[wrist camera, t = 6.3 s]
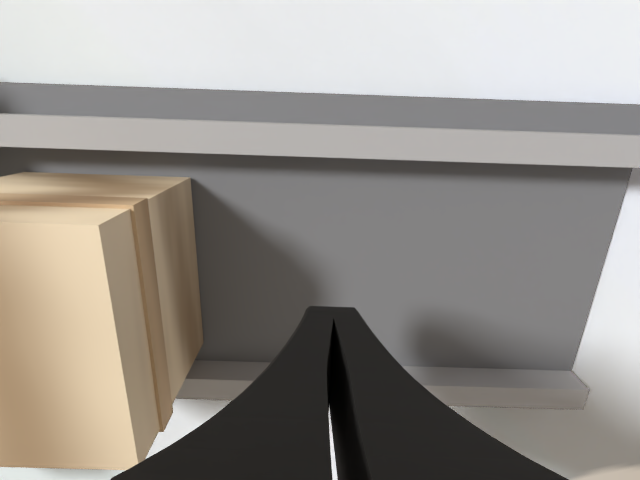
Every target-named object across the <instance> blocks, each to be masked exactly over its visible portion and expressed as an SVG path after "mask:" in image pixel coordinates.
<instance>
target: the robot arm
mask: <svg viewBox="0 0 640 480" xmlns="http://www.w3.org/2000/svg"><path fill="white" fill-rule="evenodd" d="M329 405H330V415H331V424H332V433H333V441H334V450H335V459H336V468H337V476H338V480H568V479H566V478H564V477H562V476H561V475H559V474H557V473H555V472H553V471H551V470H549V469H547V468H545V467H543V466H541V465H539V464H538V463H536V462H534V461H532V460H530V459H528V458H526V457H525V456H523V455H521V454H519V453H518V452H516V451H514V450H513V449H511V448H510V447H508V446H506V445H505V444H503V443H501V442H500V441H498V440H496V439H495V438H493V437H491V436H490V435H488V434H487V433H485V432H484V431H482V430H481V429H479V428H478V427H476V426H474V425H473V424H472V423H470V422H469V421H467V420H466V419H465V418H463V417H462V416H460V415H459V414H458V413H456V412H455V411H453V410H452V409H451V408H449V407H448V406H447V405H445V404H444V403H443V402H441V401H440V400H439V399H438V398H436V397H435V396H434V395H433V394H432V393H430V392H429V391H428V390H427V389H426V388H425V387H423V386H422V385H421V384H420V383H419V382H418V381H417V380H415V379H414V378H413V377H412V376H411V375H410V374H409V373H408V372H407V371H406V370H405V369H404V368H403V367H402V366H401V365H400V364H399V363H398V362H397V361H396V359H395V358H394V357H393V356H392V355H391V354H390V353H389V352H388V350H387V349H386V348H385V347H384V346H383V344H382V343H381V342H380V341H379V340H378V338H377V337H376V336H375V334H374V333H373V332H372V331H371V329H370V328H369V326H368V325H367V324H366V322H365V321H364V319H363V318H362V316H361V315H360V313H359V312H358V311H357V310H356V308H355V307H329V306H309V307H308V308H307V309H306V310H305V313H304V315H303V317H302V319H301V321H300V323H299V325H298V326H297V328H296V330H295V331H294V333H293V334H292V336H291V337H290V338H289V340H288V341H287V343H286V344H285V346H284V347H283V348H282V350H281V351H280V352H279V353H278V354H277V356H276V357H275V358H274V359H273V361H272V362H271V363H270V364H269V365H268V367H267V368H266V369H265V370H264V371H263V372H262V373H261V374H260V375H259V376H258V377H257V378H256V379H255V380H254V381H253V382H252V383H251V384H250V385H249V386H248V387H247V388H246V389H245V390H244V391H243V392H242V393H241V394H240V395H238V396H237V397H236V398H235V399H234V400H233V401H231V402H230V403H229V404H228V405H227V406H226V407H224V408H223V409H222V410H221V411H219V412H218V413H217V414H216V415H214V416H213V417H212V418H210V419H209V420H208V421H206V422H205V423H203V424H202V425H201V426H199V427H198V428H196V429H195V430H193V431H192V432H190V433H189V434H187V435H186V436H184V437H183V438H181V439H180V440H178V441H176V442H175V443H173V444H172V445H170V446H168V447H167V448H165V449H163V450H161V451H160V452H158V453H156V454H154V455H153V456H151V457H149V458H147V459H145V460H144V461H142V462H140V463H138V464H137V465H135V466H133V467H131V468H130V469H128V470H126V471H124V472H122V473H120V474H118V475H116V476H114V477H113V478H112V479H111V480H332V469H331V455H330V438H329V419H328V411H329Z"/></svg>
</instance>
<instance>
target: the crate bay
mask: <svg viewBox="0 0 640 480" xmlns="http://www.w3.org/2000/svg"><path fill="white" fill-rule="evenodd" d="M632 168H640V105H637V104H608V103H580V102H551V101H523V100H494V99H465V98H437V97H408V96H380V95H351V94H322V93H294V92H265V91H237V90H208V89H179V88H151V87H122V86H94V85H65V84H36V83H8V82H0V177H2V176H7V175H12V174H17V173H21V172H42V173H72V174H103V175H134V176H164V177H190V178H191V191H192V203H193V216H194V228H195V241H196V253H197V266H198V278H199V291H200V303H201V316H202V328H203V341H204V342H203V344H202V346H201V348H200V350H199V352H198V354H197V356H196V358H195V360H194V362H193V364H192V366H191V368H190V370H189V372H188V374H187V376H186V378H185V380H184V382H183V384H182V386H181V388H180V390H179V392H178V394H177V396H176V399H213V400H234V399H235V398H236V397H237V396H238V395H240V394H241V393H242V392H243V391H244V390H245V389H246V388H247V387H248V386H249V385H250V384H251V383H252V382H253V381H254V380H255V379H256V378H257V377H258V376H259V375H260V374H261V373H262V372H263V371H264V370H265V369H266V368H267V367H268V365H269V364H270V363H271V362H272V361H273V359H274V358H275V357H276V356H277V354H278V353H279V352H280V351H281V350H282V348H283V347H284V346H285V344H286V343H287V341H288V340H289V338H290V337H291V336H292V334H293V333H294V331H295V330H296V328H297V326H298V325H299V323H300V321H301V319H302V317H303V315H304V313H305V310H306V309H307V308H308V307H309V306H329V307H355V308H356V310H357V311H358V312H359V313H360V315H361V316H362V318H363V319H364V321H365V322H366V324H367V325H368V326H369V328H370V329H371V331H372V332H373V333H374V334H375V336H376V337H377V338H378V340H379V341H380V342H381V343H382V344H383V346H384V347H385V348H386V349H387V350H388V352H389V353H390V354H391V355H392V356H393V357H394V358H395V359H396V361H397V362H398V363H399V364H400V365H401V366H402V367H403V368H404V369H405V370H406V371H407V372H408V373H409V374H410V375H411V376H412V377H413V378H414V379H415V380H417V381H418V382H419V383H420V384H421V385H422V386H423V387H425V388H426V389H427V390H428V391H429V392H430V393H432V394H433V395H434V396H435V397H436V398H438V399H439V400H440V401H441V402H443V403H444V404H445V405H447V406H473V407H510V408H547V409H584V406H585V403H586V400H587V397H588V394H589V391H590V390H589V389H588V388H587V387H586V386H585V385H584V384H583V382H582V381H581V380H580V379H579V378H578V377H577V376H576V375H575V374H574V373H573V372H572V371H571V370H572V367H573V363H574V360H575V357H576V353H577V350H578V347H579V343H580V340H581V337H582V334H583V330H584V327H585V324H586V320H587V317H588V314H589V310H590V307H591V304H592V300H593V297H594V294H595V290H596V287H597V284H598V281H599V277H600V274H601V271H602V267H603V264H604V261H605V257H606V254H607V251H608V247H609V244H610V241H611V237H612V234H613V231H614V227H615V224H616V221H617V218H618V214H619V211H620V208H621V204H622V201H623V198H624V194H625V191H626V188H627V184H628V181H629V178H630V174H631V171H632Z"/></svg>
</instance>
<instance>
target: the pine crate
mask: <svg viewBox="0 0 640 480" xmlns="http://www.w3.org/2000/svg"><path fill="white" fill-rule="evenodd" d="M203 342H204V341H203V328H202V316H201V303H200V291H199V278H198V266H197V253H196V241H195V228H194V216H193V203H192V191H191V178H190V177H164V176H134V175H103V174H72V173H42V172H21V173H17V174H12V175H7V176H2V177H0V467H29V468H69V469H109V470H128V469H130V468H131V467H133V466H135V465H137V464H138V463H140V462H142V461H144V460H145V458H146V456H147V454H148V452H149V450H150V448H151V446H152V444H153V442H154V440H155V438H156V436H157V434H158V432H164V430H165V428H166V426H167V424H168V422H169V419H170V417H171V415H172V413H173V408H172V404H173V402H174V400H175V398H176V396H177V394H178V392H179V390H180V388H181V386H182V384H183V382H184V380H185V378H186V376H187V374H188V372H189V370H190V368H191V366H192V364H193V362H194V360H195V358H196V356H197V354H198V352H199V350H200V348H201V346H202V344H203Z"/></svg>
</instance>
